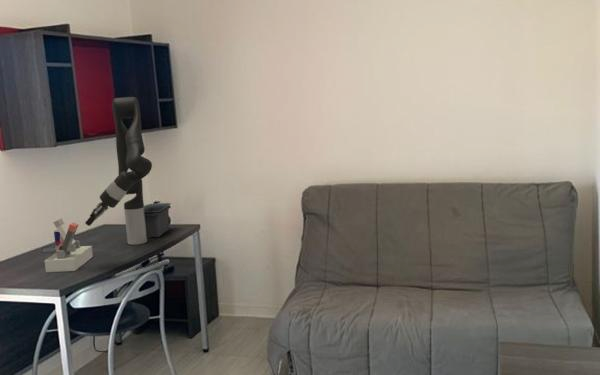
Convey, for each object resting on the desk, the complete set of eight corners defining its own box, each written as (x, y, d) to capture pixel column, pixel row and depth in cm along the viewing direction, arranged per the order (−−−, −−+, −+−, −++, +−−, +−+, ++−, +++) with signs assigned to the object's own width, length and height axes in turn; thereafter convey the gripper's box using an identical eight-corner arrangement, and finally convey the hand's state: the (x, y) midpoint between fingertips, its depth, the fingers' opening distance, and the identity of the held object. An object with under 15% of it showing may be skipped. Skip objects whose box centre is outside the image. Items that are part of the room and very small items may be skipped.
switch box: (66, 258, 270) (64, 240, 269) (92, 256, 270) (90, 238, 269) (45, 272, 248) (43, 253, 247) (74, 270, 248) (72, 251, 247)
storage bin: (161, 238, 298) (159, 210, 296) (131, 239, 300) (128, 211, 298) (175, 229, 319) (172, 202, 317) (146, 230, 321) (144, 203, 319)
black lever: (62, 253, 255) (73, 222, 253) (67, 255, 255) (78, 224, 253) (58, 255, 251) (69, 224, 249) (63, 257, 251) (75, 226, 249)
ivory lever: (74, 248, 266) (57, 220, 264) (78, 246, 266) (61, 218, 264) (70, 251, 262) (53, 222, 260) (75, 248, 262) (57, 220, 260)
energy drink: (55, 258, 271) (52, 232, 269) (57, 255, 276) (55, 229, 274) (68, 256, 272) (65, 231, 270) (70, 254, 277) (67, 228, 275)
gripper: (111, 185, 255) (85, 215, 257) (101, 190, 242) (74, 221, 244) (125, 197, 256) (99, 226, 258) (116, 202, 243) (89, 233, 245)
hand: (87, 224), depth 251 cm, fingers closed
